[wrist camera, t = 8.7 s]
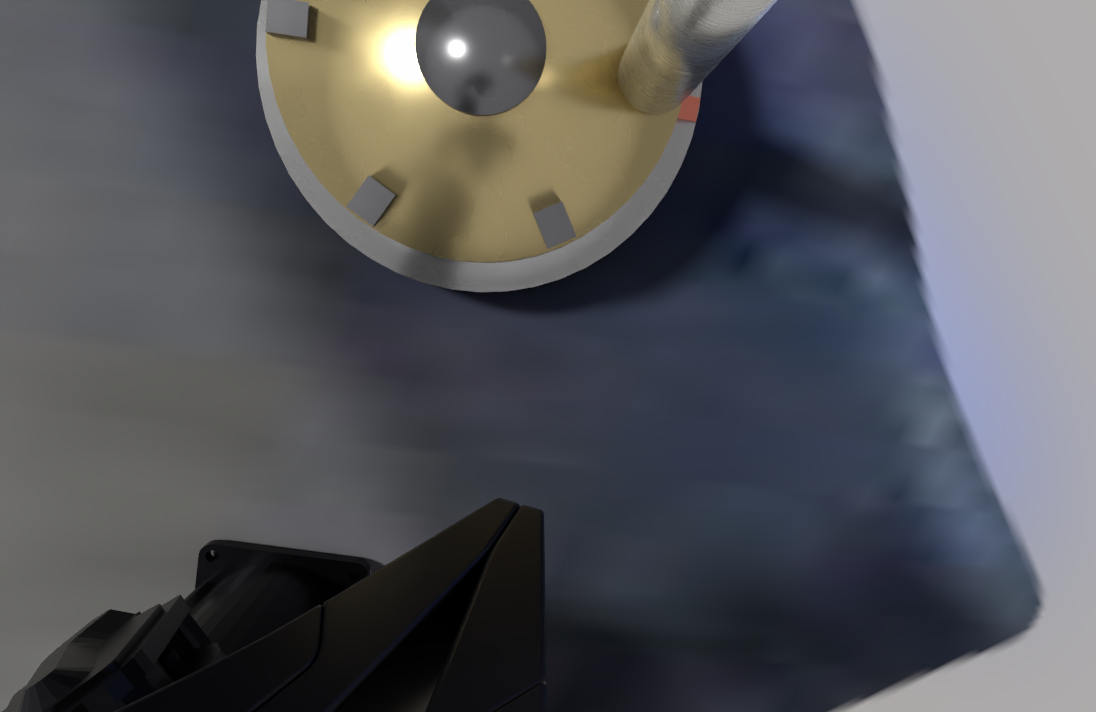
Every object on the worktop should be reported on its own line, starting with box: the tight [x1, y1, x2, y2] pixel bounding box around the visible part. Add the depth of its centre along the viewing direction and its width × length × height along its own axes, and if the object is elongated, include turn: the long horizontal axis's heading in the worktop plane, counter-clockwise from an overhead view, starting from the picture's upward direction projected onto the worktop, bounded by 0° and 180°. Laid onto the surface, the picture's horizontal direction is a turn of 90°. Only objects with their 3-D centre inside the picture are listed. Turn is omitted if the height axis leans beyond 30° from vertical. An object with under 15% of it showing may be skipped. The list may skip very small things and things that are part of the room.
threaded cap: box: [256, 0, 703, 292], centre depth 21 cm, size 15×15×2 cm
